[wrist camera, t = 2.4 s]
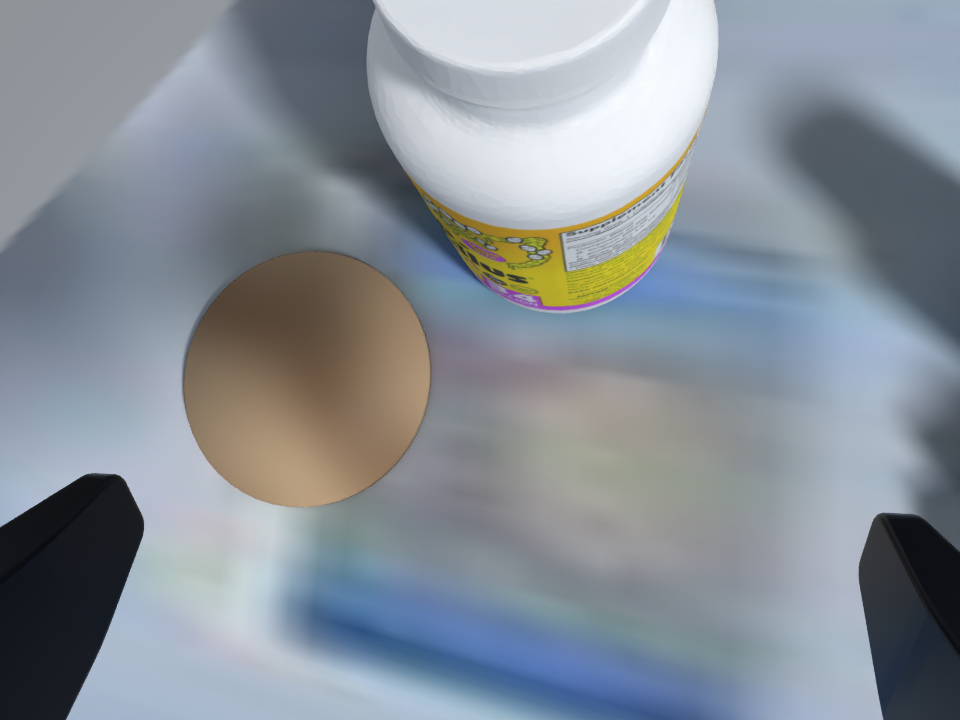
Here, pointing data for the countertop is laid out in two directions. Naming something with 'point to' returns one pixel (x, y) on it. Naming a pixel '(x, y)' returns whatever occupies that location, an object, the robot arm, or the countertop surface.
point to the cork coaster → (307, 379)
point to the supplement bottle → (546, 132)
